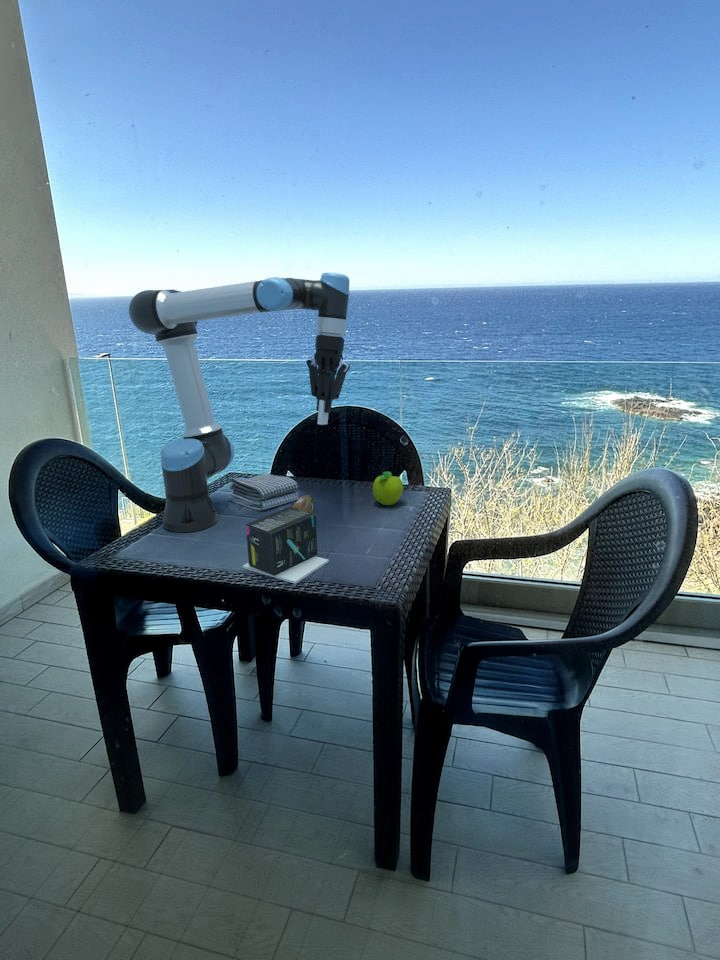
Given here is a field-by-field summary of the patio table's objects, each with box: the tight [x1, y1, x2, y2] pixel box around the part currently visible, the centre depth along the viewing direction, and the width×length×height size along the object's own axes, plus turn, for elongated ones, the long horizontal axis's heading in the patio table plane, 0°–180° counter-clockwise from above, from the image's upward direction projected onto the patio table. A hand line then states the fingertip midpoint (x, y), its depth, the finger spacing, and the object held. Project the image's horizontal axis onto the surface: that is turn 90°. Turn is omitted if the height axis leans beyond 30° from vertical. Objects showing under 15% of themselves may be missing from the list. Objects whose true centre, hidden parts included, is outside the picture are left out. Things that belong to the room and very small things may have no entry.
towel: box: [228, 473, 300, 512], centre depth 185 cm, size 15×18×8 cm
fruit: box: [372, 471, 404, 506], centre depth 179 cm, size 9×9×10 cm
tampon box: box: [245, 506, 318, 576], centre depth 140 cm, size 11×9×15 cm
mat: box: [242, 555, 330, 585], centre depth 141 cm, size 16×13×1 cm
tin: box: [291, 494, 316, 516], centre depth 162 cm, size 15×3×8 cm, turn 168°
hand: (322, 424), depth 160 cm, fingers closed
